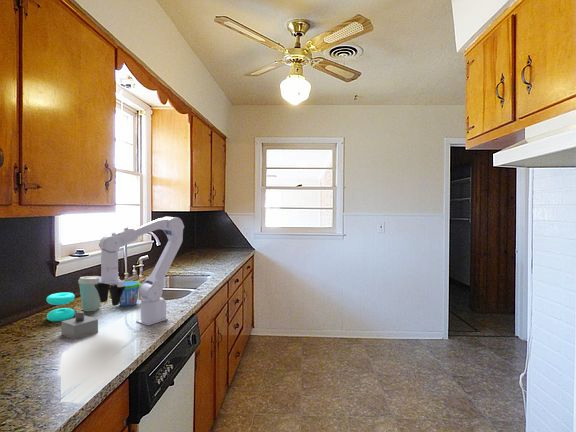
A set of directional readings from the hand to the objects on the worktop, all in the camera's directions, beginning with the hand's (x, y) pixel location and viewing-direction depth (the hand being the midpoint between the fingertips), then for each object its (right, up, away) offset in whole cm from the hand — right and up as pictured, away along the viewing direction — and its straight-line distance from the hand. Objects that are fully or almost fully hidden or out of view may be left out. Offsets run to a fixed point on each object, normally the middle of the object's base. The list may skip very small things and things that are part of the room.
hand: (109, 303), depth 135 cm
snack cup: (-9, -9, +35) cm, 38 cm away
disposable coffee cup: (-21, -9, +27) cm, 35 cm away
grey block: (-9, -10, -3) cm, 14 cm away
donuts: (-27, -10, +14) cm, 32 cm away
